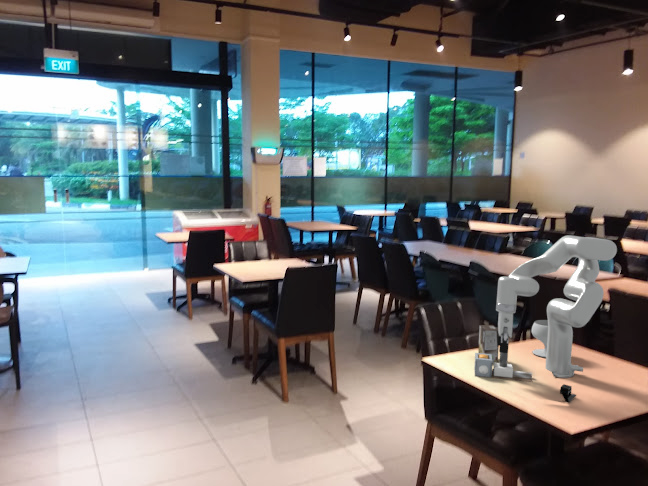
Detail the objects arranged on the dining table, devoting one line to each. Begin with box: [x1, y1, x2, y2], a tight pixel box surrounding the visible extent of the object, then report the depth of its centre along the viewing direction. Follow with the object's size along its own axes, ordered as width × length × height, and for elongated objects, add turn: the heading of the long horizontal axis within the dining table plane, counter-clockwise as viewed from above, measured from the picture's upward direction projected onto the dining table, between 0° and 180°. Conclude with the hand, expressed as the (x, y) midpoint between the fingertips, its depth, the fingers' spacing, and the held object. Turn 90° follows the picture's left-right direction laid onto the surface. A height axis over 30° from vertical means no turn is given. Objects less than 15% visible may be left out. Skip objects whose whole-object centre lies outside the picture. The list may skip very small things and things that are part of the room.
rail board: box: [476, 368, 534, 383], centre depth 211 cm, size 22×9×4 cm, turn 75°
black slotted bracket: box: [559, 384, 577, 404], centre depth 194 cm, size 12×7×5 cm, turn 139°
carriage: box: [493, 352, 514, 378], centre depth 210 cm, size 7×6×11 cm
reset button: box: [479, 354, 488, 359], centre depth 212 cm, size 4×4×3 cm
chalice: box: [531, 319, 548, 358], centre depth 241 cm, size 14×14×15 cm
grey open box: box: [474, 352, 493, 378], centre depth 212 cm, size 6×8×7 cm
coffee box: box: [478, 324, 500, 364], centre depth 229 cm, size 9×6×16 cm
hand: (502, 348), depth 209 cm, fingers open, 9 cm apart
